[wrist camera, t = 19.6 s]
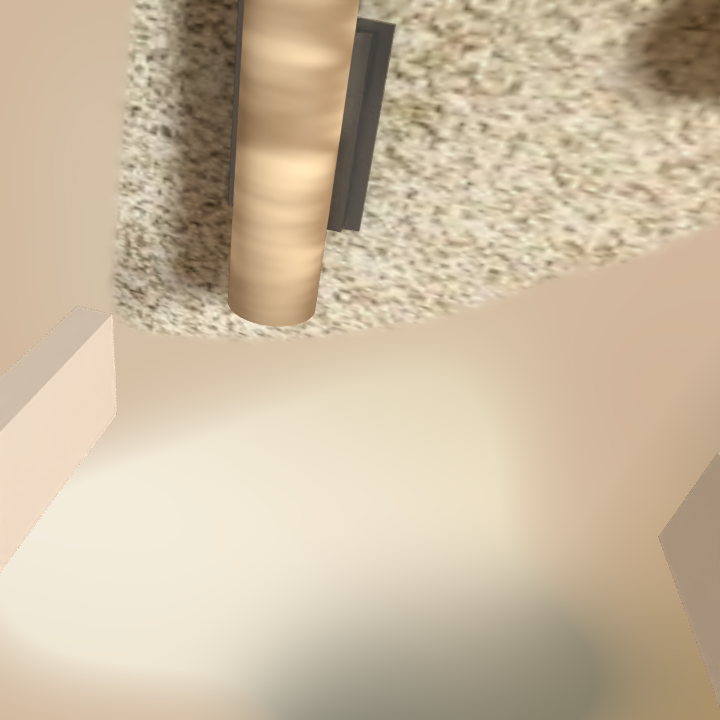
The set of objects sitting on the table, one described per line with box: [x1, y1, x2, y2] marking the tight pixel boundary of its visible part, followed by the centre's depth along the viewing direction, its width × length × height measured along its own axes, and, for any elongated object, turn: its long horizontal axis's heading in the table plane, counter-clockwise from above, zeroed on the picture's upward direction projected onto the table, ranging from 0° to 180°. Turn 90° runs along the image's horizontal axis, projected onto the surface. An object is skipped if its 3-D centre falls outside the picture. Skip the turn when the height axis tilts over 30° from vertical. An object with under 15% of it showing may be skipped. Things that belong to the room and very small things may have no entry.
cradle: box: [228, 0, 396, 232], centre depth 33 cm, size 11×8×3 cm
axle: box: [228, 0, 360, 326], centre depth 30 cm, size 18×5×5 cm, turn 170°
